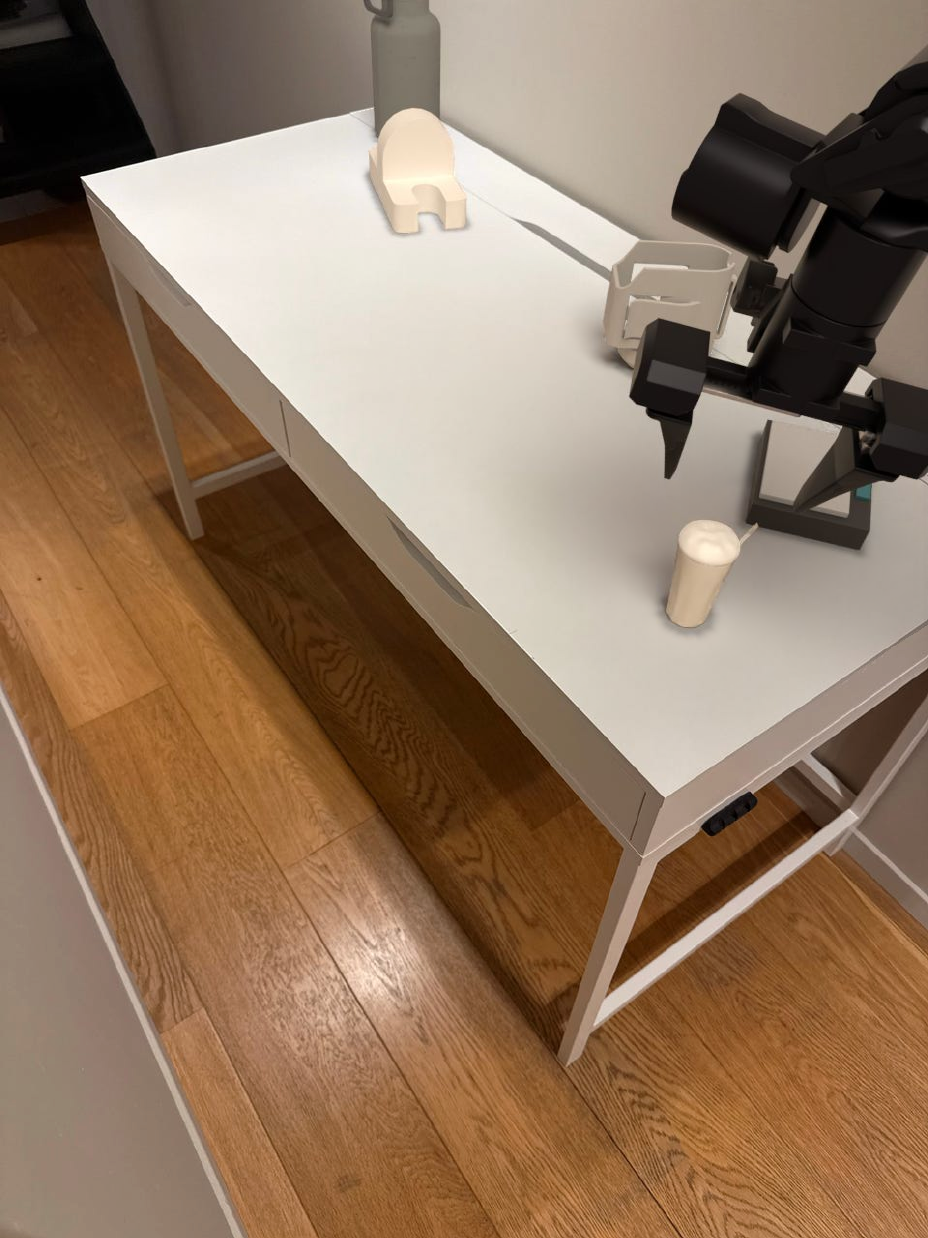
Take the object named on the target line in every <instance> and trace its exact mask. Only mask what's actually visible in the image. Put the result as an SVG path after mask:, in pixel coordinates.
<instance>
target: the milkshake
mask: <svg viewBox="0 0 928 1238" xmlns="http://www.w3.org/2000/svg"><path fill="white" fill-rule="evenodd" d="M758 528H759V526H758V524H757V523H756V524H755V525H752V527H751V528H750V529H749V530H748V531H747V532H746V533H745V534H744V535H743V536H742V537H741V538H740V539H739V538H738V536H737V534H736V533H735V531H734V530H733V529H732V528H731V527H729V526H728V525H726V524H725V523H722V522H720V521H716V520H712V519H698V520H697V519H696V520H692V521H690V522H688V523H687V524H686V525H685V526H684V527H683V528H682V529H681V530H680V533H679V535H678V540H677V546H676V552H675V559H674V566H673V567H674V568H673V573H672V578H671V583H670V588H669V594H668V598H667V604H666V609H665V613H666V614H667V616H668V618H669V620H670V622H672V623H674V624H675V625H678V626H679V627H682V628H697V627H698V626H700V625H701V624H703V623H705V621H706V619H707V617H708V615H709V614H710V611H711V609H712V607H713V605H714V603H715V601H716V599H717V597H718V594H719V592H720V590H721V588H722V586H723V584H724V583H725V580H726V579H727V577H728V575H729V573H730V571H731V570H732V567H733V565H734V564H735V562H736V560H737V558H738V557H739V554H740V553H741V545H742V544H743V543H744V542H745V541H746V540H747V539H748V538H749V537H750V536H751V535H752V534H753V533H754V532H755V531H756V530H757V529H758Z"/></svg>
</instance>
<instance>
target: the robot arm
mask: <svg viewBox="0 0 928 1238" xmlns="http://www.w3.org/2000/svg"><path fill="white" fill-rule="evenodd" d="M821 204H823V205H825V206H826V207H825V210H824V211H823V214H822V216H821V217H820V219H819V221H818V223H817V226H816V227H815V229H814V232H813V233H812V235H811V238H810V239H809V242H808V243H807V245H806V247H805V249H804V252H803V254H802V255H801V258H800V259H799V261H798V264H797V265H796V268H795V270H794V272H793V273H791V272H790V273H789V276H788V278H784V277H781V276H778V273H779V268H778V267H777V266H776V264H775V263H774V262H771V261H769V260H770V258H771V257H772V255H773V254H774V252H775V250H776V248H777V247H778V249H779V250H780V251H782V252H784V253H786V254H789V253H791V252H792V251H793V250H794V248H795V247H796V246H797V245H798V243H799V241H800V240H801V239H802V237H803V235H805V232H806V231H807V229H808V227H809V226H810V224H811V222H812V220H813V218H815V217H814V216H815V215H816V213H817V211H818V209H819V208H820V206H821ZM670 210H671V211H670V216H671V219H672V220H673V221H675V222H677V223H679V224H681V225H683V226H685V227H688V228H690V229H692V230H693V231H695V232H698V233H700V234H701V235H704V236H706V237H707V238H710V239H712V240H714V241H716V242H718V243H720V244H722V245H725V246H727V247H728V248H730V249H732V250H734V251H737V252H738V253H741V254H742V255H745V256H747V258H746V261H745V263H744V265H743V266H742V268H741V271H740V273H739V275H738V276H737V279H738V280H737V282H736V285H735V288H734V290H733V293H732V296H731V299H730V305H731V309H732V312H733V313H736V314H740V315H743V316H747V317H751V321H750V326H751V327H753V328H752V331H751V332H750V334H749V336H748V338H747V340H746V343H747V344H746V352H747V353H750V354H752V356H751V358H750V361H749V363H748V364H747V365H744V364H740V363H736V362H732V361H728V360H724V359H721V358H719V357H718V358H717V357H714V356H711V355H710V356H708V355H709V344H710V333H711V332H710V331H706V330H702V329H698V328H695V327H691V326H687V325H683V324H680V323H676V322H672V321H668V320H665V319H661V318H658V319H656V320H655V321H653V322H651V323H650V324H648V325H647V326H646V327H645V329H644V332H643V334H642V337H641V340H640V343H639V345H638V348H637V353H636V359H635V365H634V369H633V372H632V377H631V382H630V388H629V395H628V397H629V399H630V400H631V401H632V402H633V403H634V404H635V405H636V406H639V407H643V408H645V410H644V411H645V415H646V416H647V417H648V418H650V419H651V420H654V421H657V422H659V425H660V428H661V429H660V430H661V433H662V434H661V435H662V438H663V444H664V445H663V446H664V466H663V467H664V470H663V471H664V472H663V473H664V474H663V478H664V479H665V480H671V479H672V477H673V476H674V474H675V472H676V471H677V469H678V466H679V463H680V460H681V457H682V454H683V451H684V450H685V449H684V448H685V446H686V443H687V440H688V437H689V434H690V431H691V429H692V426H693V422H694V421H693V419H694V410H695V409H696V406H697V404H698V402H699V400H700V397H701V396H702V393H705V394H709V395H713V396H716V397H720V398H724V399H726V400H727V399H728V400H731V401H735V402H739V403H741V404H742V403H743V404H746V405H750V406H753V407H757V408H760V409H764V410H769V411H772V412H776V413H780V414H783V415H788V416H790V417H794V418H801V416H802V417H806V418H810V419H814V420H818V421H821V422H825V423H829V424H832V425H836V426H840V427H841V428H840V431H839V433H838V437H837V439H836V441H835V442H834V444H833V445H832V446H831V448H830V449H829V451H828V452H827V453H826V455H825V456H824V457H823V459H822V460H821V461H820V463H819V464H818V465H817V467H816V468H815V470H814V471H813V472H812V474H811V475H810V476H809V478H808V479H807V480H806V482H805V483H804V485H803V486H802V488H801V489H800V491H799V493H798V495H797V497H796V499H795V500H794V503H793V513H795V514H801V513H803V512H805V511H807V510H809V509H811V508H814V507H816V506H818V505H820V504H822V503H824V502H826V501H828V500H831V499H833V498H834V497H837V496H840V495H842V494H844V493H847V492H850V491H853V490H855V489H858V488H861V487H864V486H867V485H869V484H872V485H873V484H875V483H877V482H885V483H894V482H896V481H897V480H898V479H899V478H900V476H901V477H905V478H909V479H911V480H915V481H917V480H920V479H921V478H924V477H926V475H927V474H928V388H923V387H919V386H915V385H912V384H908V383H904V382H901V381H897V380H894V379H890V378H886V377H882V376H880V377H878V378H875V379H872V381H871V382H870V384H869V385H868V387H867V389H866V390H865V391H864V395H862V394H859V393H855V392H851V391H847V390H845V389H846V388H847V386H848V385H849V383H850V381H851V380H852V378H853V377H854V375H855V374H856V371H857V370H858V369H859V367H860V366H863V367H866V368H868V366H869V365H870V363H871V362H872V360H873V359H874V357H875V355H876V353H877V351H878V350H877V343H876V339H877V338H878V336H879V335H880V333H881V332H882V330H883V328H884V327H885V326H886V324H887V322H888V320H889V319H890V317H891V315H892V314H893V313H894V311H895V309H896V307H897V306H898V304H899V302H900V301H901V300H902V298H903V296H904V295H905V293H906V291H907V290H908V288H909V287H910V285H911V283H912V282H913V280H914V278H915V277H916V275H917V274H918V272H919V270H920V269H921V267H922V266H923V264H924V263H925V261H926V259H927V257H928V44H927V45H925V46H924V47H923V48H922V49H920V51H919V52H917V53H916V54H915V55H914V56H913V57H912V58H911V59H910V60H909V61H908V62H907V63H905V64H904V65H903V66H902V67H901V68H900V69H898V70H897V72H896V73H894V74H893V75H892V76H891V77H890V78H889V79H888V80H887V81H886V82H885V83H884V84H883V85H882V86H881V87H880V88H879V89H878V90H877V91H876V93H875V95H874V96H873V98H872V99H871V101H870V103H869V105H868V106H867V107H866V108H864V109H862V110H861V111H859V112H858V113H855V112H850V113H849V114H848V115H846V116H845V118H843V119H842V120H841V121H840V122H839V123H838V124H837V125H835V127H833V128H832V129H831V130H829V132H828V133H826V134H824V133H821V132H819V131H817V130H815V129H812V128H810V127H808V126H806V125H804V124H801V123H799V122H798V121H797V122H796V121H794V120H792V119H790V118H789V117H785V116H783V115H781V114H779V113H777V112H774V111H772V110H771V109H769V108H768V107H767V106H766V105H764V104H763V103H762V102H761V101H759V100H757V99H756V98H754V97H752V96H748V95H747V94H745V93H742V92H739V93H736V94H735V95H733V96H731V97H730V98H729V99H728V100H726V101H725V102H724V103H722V104H721V105H720V107H719V110H718V113H717V116H716V118H715V120H714V124H713V125H712V127H710V129H709V131H708V132H707V134H706V135H705V136H704V138H703V140H702V141H701V143H700V145H699V146H698V148H697V149H696V152H695V154H694V156H693V158H692V160H691V162H690V163H689V166H688V167H687V168H686V169H685V170H684V171H683V172H682V173H681V176H680V177H679V179H678V183H677V185H676V189H675V192H674V195H673V198H672V203H671V209H670Z"/></svg>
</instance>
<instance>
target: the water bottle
mask: <svg viewBox="0 0 928 1238" xmlns="http://www.w3.org/2000/svg"><path fill="white" fill-rule="evenodd" d="M380 2H381V3H380V4H381V8H377V7H376V6H374V5H373V4H372V2H371V0H363V5H364V8H365V9H366V11H368V12H369V13H372V14H373V15H374V16H373V18H372V20H371V23H370V44H371V46H370V47H371V68H372V88H373V89H372V90H373V93H372V94H373V114H374V115H373V116H374V118H373V119H374V130H375V133H376V135H377V137H379V135H380V132H381V130H382V128H383V127H384V125H385V123H386V122H387V121H388V120H389V119H390V118H391V117H392V116H393V115H395V114H396V113H398V112H400V111H402V110H406V109H410V108H417V109H423V110H426V111H428V112H431V113H432V114H433V115H435V116H436V117H437V118H438V119H439V120H440V121H441V35H442V34H441V32H442V31H441V23H440V21H439V19H438V17H437V16H436V15H435V14H434V13H433V12H432V11H431V10H430V0H380Z"/></svg>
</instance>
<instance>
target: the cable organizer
mask: <svg viewBox="0 0 928 1238" xmlns="http://www.w3.org/2000/svg"><path fill="white" fill-rule="evenodd" d="M732 255H733V252H731V251H730V250H728V249H727V248H724V247H722V246H720V245H717V244H713V243H707V242H694V241H691V242H690V241H674V240H673V241H672V240H671V241H670V240H652V239H651V240H648V239H639V240H638V241H636V243H635V244H634V245H633V246H632V247H631V249H630V250H629V251H628V252H627V253H626V254H625V255H624V257H622V258H621V259H620V260H619V261H617V262H615V263H614V264H612V265H611V269H610V277H609V282H608V288H607V295H606V302H605V307H604V312H603V318H602V319H603V320H602V323H603V331H604V341H605V344H606V345H608V346H610V347H613V348H617V351H618V355H619V356H620V357H621V358H622V359H623V361H625V363H627V365H628V366H629V367H630V368H632V369H633V370H634V365H635V359H636V353H637V348H638V345H639V343H640V340H641V337H642V334H643V332H644V329H645V327H646V326H647V325H648V324H650V323H651V322H653V321H655V320H656V319H658V318H661V319H665V320H668V321H672V322H676V323H680V324H683V325H687V326H691V327H695V328H698V329H702V330H706V331H710V332H711V333H710V344H709V355H708V356H710V357H711V354H712V351H713V346H714V343H715V340H720V339H721V338H723V336H724V333H725V330H726V326H727V323H728V320H729V315H730V312H731V309H732V307H731V305H730V299H731V296H732V293H733V290H734V288H735V285H736V282H737V280H738V276H737V275H736V273H734V270H735V266H736V262H731V260H732ZM635 264H637V265H639V264H641V265H659V266H661V265H662V266H680V267H681V266H682V267H687V268H670V267H651V266H650V267H649V266H644V267H643V268H642V269H641V270H640V271H639V272H638V274H637V275H635V277H634V278H632V277H633V273H634V267H635ZM631 296H638V297H639V296H640V297H641V296H644V297H660V298H659V300H656V299H649V298H636V299H633V300H631V302H630V297H631ZM629 303H630V304H629ZM625 324H626V325H625ZM625 326H626V327H625Z"/></svg>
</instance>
